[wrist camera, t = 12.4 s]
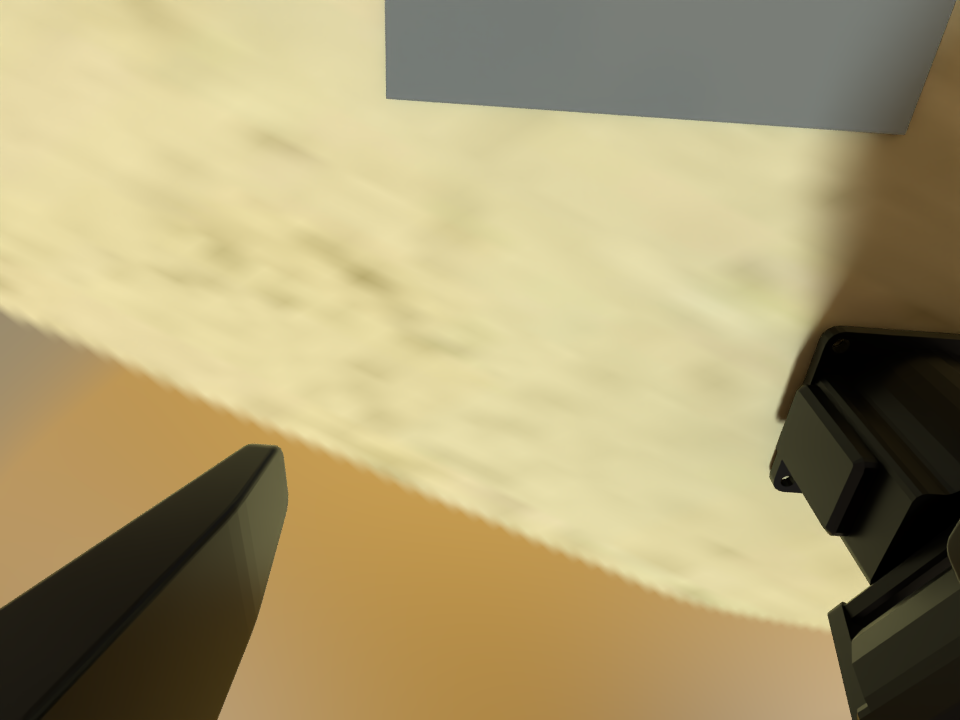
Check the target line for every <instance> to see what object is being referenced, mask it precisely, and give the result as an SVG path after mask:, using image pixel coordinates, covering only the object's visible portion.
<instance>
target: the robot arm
mask: <svg viewBox="0 0 960 720" xmlns="http://www.w3.org/2000/svg"><path fill="white" fill-rule="evenodd" d="M839 339H844V341H843V342H842V343H841V344H840V345H839V346H837V347H833V345H834V343H835V342H836V341H838V340H839ZM776 450H777V451H778V452H777V455H776V458H775V460H774V463H773V466H772V468H771V471H770V476H769V477H770V479H771V482H772V483H773V485H774V487H775V488H776V489H777V490H778V491H782V492H793V493H803V495H804V496H805V498H806V500H807V502H808V503H809V505H810V507H811V508H812V510H813V512H814V513H815V515H816V517H817V518H818V520H819V522H820V523H821V525H822V527H823V528H824V529H825V530H826V532H827V533H828V534H829V535H831V536H840V537H841V539H842V540H843V542H844V544H845V545H846V547H847V548H848V550H849V552H850V553H851V555H852V556H853V558H854V560H855V561H856V563H857V565H858V566H859V568H860V569H861V571H862V573H863V574H864V576H865V577H866V579H867V581H868V582H869V584H870V586H869V587H868V588H866V589H865V590H864V591H862V592H861V593H860V594H858V595H857V596H856V597H854V598H853V599H852V600H850V601H849V602H848V603H845V602H841V603H840V604H839V605H837V606H836V607H835V608H833V609H832V610H831V611H829V612H828V619H829V623H830V627H831V632H832V636H833V640H834V644H835V649H836V653H837V657H838V661H839V666H840V670H841V674H842V678H843V683H844V687H845V691H846V696H847V700H848V704H849V708H850V713H851V717H852V720H960V334H949V333H934V332H920V331H906V330H891V329H877V328H863V327H848V326H836V327H832V328H830V329H828V330H827V331H825V332H824V333H823V334H822V336H821V338H820V339H819V342H818V345H817V348H816V350H815V353H814V356H813V358H812V361H811V364H810V366H809V369H808V372H807V374H806V377H805V380H804V382H803V385H802V386H801V387H800V388H799V389H798V390H797V391H796V394H795V397H794V399H793V402H792V405H791V408H790V410H789V413H788V416H787V418H786V421H785V424H784V427H783V429H782V432H781V435H780V437H779V440H778V443H777V446H776ZM785 476H789V477H788V478H786V479H782V478H783V477H785ZM287 506H288V488H287V480H286V472H285V464H284V456H283V452H282V450H281V448H279V447H278V446H276V445H264V444H248V445H246V446H244V447H242V448H241V449H239V450H238V451H236V452H235V453H233V454H232V455H230V456H229V457H227V458H226V459H224V460H223V461H221V462H220V463H218V464H217V465H216V466H214V467H213V468H211V469H209V470H208V471H206V472H205V473H203V474H202V475H200V476H199V477H197V478H196V479H194V480H193V481H191V482H190V483H188V484H187V485H185V486H184V487H182V488H181V489H179V490H178V491H176V492H175V493H173V494H172V495H171V496H169V497H167V498H166V499H164V500H163V501H162V502H160V503H158V504H157V505H155V506H154V507H152V508H151V509H149V510H148V511H146V512H145V513H143V514H142V515H140V516H139V517H137V518H136V519H134V520H133V521H131V522H130V523H128V524H127V525H125V526H124V527H122V528H121V529H119V530H118V531H116V532H115V533H113V534H112V535H110V536H109V537H107V538H106V539H104V540H103V541H101V542H100V543H98V544H97V545H95V546H94V547H92V548H91V549H89V550H88V551H86V552H85V553H83V554H81V555H80V556H79V557H77V558H76V559H74V560H73V561H71V562H70V563H68V564H66V565H65V566H63V567H62V568H61V569H59V570H58V571H56V572H54V573H53V574H51V575H50V576H48V577H47V578H45V579H44V580H42V581H41V582H39V583H38V584H36V585H35V586H33V587H32V588H30V589H29V590H27V591H26V592H25V593H23V594H22V595H20V596H18V597H17V598H15V599H14V600H12V601H11V602H9V603H8V604H7V605H5V606H3V607H2V608H0V720H217V719H218V716H219V714H220V712H221V709H222V707H223V704H224V702H225V699H226V697H227V694H228V692H229V689H230V687H231V684H232V682H233V679H234V677H235V674H236V672H237V669H238V666H239V664H240V662H241V659H242V657H243V654H244V652H245V649H246V647H247V644H248V642H249V639H250V636H251V633H252V631H253V628H254V626H255V623H256V620H257V617H258V614H259V610H260V607H261V603H262V600H263V596H264V592H265V589H266V585H267V581H268V578H269V574H270V571H271V567H272V563H273V559H274V556H275V552H276V549H277V545H278V541H279V538H280V534H281V530H282V527H283V523H284V519H285V516H286V512H287Z"/></svg>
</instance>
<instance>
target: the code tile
mask: <svg viewBox="0 0 960 720" xmlns="http://www.w3.org/2000/svg"><path fill="white" fill-rule="evenodd" d="M955 2H956V0H385V41H386V99H397V100H412V101H426V102H440V103H455V104H469V105H483V106H498V107H512V108H526V109H541V110H555V111H569V112H584V113H598V114H612V115H627V116H641V117H655V118H670V119H684V120H698V121H713V122H727V123H741V124H756V125H770V126H784V127H799V128H813V129H827V130H842V131H856V132H870V133H885V134H899V135H905V134H906V131H907V129H908V126H909V123H910V121H911V118H912V116H913V113H914V110H915V108H916V105H917V102H918V100H919V97H920V95H921V92H922V89H923V87H924V84H925V81H926V79H927V76H928V73H929V71H930V68H931V66H932V63H933V60H934V58H935V55H936V52H937V50H938V47H939V44H940V42H941V39H942V37H943V34H944V31H945V29H946V26H947V23H948V21H949V18H950V15H951V13H952V10H953V8H954V5H955Z"/></svg>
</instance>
